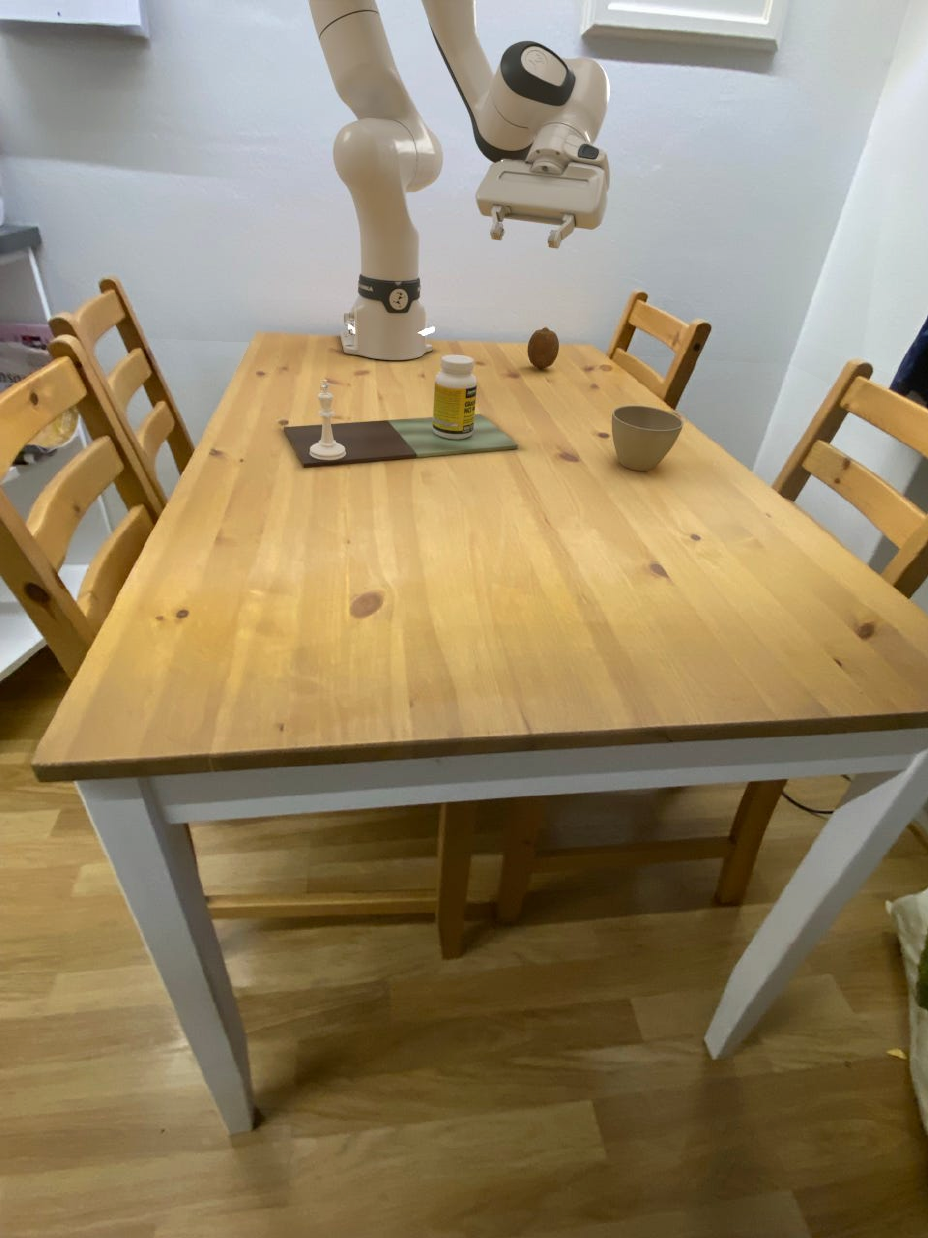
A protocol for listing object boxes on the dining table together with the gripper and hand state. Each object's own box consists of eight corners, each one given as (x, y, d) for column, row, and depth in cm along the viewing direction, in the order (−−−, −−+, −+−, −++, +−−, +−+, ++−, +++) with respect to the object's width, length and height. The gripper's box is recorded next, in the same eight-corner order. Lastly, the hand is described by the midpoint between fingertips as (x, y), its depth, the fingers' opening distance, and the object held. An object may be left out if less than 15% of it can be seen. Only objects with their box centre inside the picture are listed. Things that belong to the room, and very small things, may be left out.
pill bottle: (468, 443, 103) (474, 366, 97) (428, 437, 104) (431, 361, 97) (476, 429, 108) (482, 355, 102) (437, 423, 109) (441, 350, 102)
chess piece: (352, 450, 97) (350, 378, 92) (335, 463, 94) (332, 388, 88) (320, 444, 99) (317, 372, 93) (302, 456, 95) (298, 381, 89)
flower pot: (596, 469, 100) (605, 420, 96) (610, 447, 108) (619, 400, 104) (666, 484, 97) (679, 434, 93) (675, 460, 105) (687, 413, 101)
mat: (283, 430, 103) (283, 426, 103) (480, 417, 115) (480, 413, 114) (303, 467, 93) (303, 463, 93) (517, 448, 104) (518, 444, 104)
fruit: (560, 372, 140) (567, 330, 135) (532, 373, 138) (538, 331, 133) (547, 364, 145) (553, 323, 140) (520, 364, 143) (525, 323, 138)
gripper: (489, 140, 108) (456, 216, 106) (617, 152, 101) (584, 233, 99) (498, 174, 114) (467, 247, 112) (619, 187, 107) (588, 264, 105)
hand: (523, 240), depth 105 cm, fingers open, 8 cm apart
